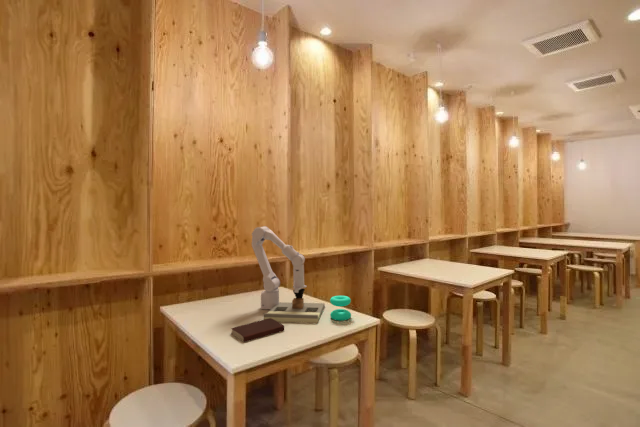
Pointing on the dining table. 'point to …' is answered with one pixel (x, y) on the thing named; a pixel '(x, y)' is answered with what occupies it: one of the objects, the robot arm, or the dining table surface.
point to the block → (298, 303)
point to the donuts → (340, 313)
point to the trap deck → (295, 313)
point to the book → (257, 329)
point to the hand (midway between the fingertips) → (299, 303)
